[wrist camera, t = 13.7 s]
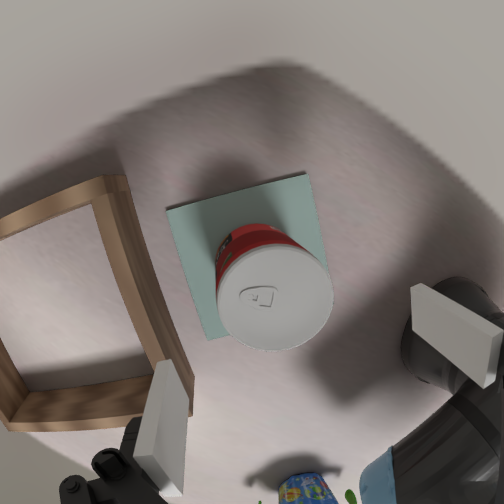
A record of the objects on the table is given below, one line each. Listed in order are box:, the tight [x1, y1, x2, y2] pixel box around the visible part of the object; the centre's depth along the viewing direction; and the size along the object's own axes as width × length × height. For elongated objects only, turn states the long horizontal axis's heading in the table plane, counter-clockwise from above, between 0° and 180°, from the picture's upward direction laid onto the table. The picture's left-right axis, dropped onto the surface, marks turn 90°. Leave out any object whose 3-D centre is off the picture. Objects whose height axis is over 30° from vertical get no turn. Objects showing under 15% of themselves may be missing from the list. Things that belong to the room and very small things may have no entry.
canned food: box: [215, 223, 334, 352], centre depth 26 cm, size 8×8×11 cm
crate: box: [0, 175, 195, 432], centre depth 27 cm, size 26×23×7 cm
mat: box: [166, 174, 334, 340], centre depth 32 cm, size 14×14×1 cm
